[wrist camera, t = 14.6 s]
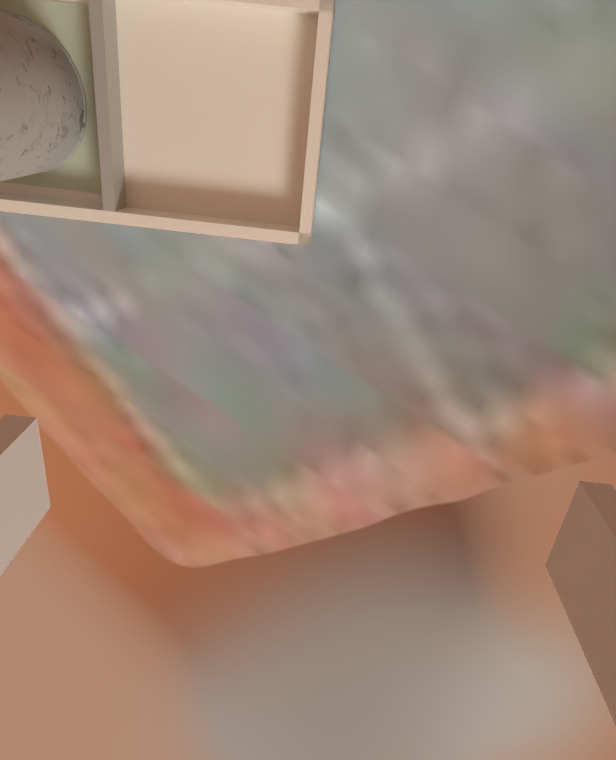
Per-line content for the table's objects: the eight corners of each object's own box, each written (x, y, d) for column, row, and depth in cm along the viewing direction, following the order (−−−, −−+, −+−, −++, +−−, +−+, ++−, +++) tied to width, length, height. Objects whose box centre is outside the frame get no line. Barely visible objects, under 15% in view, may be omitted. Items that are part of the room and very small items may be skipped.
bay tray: (335, 2, 33) (334, -5, 30) (311, 237, 39) (309, 245, 37) (-114, -47, 33) (-147, -58, 31) (-64, 195, 39) (-89, 201, 37)
